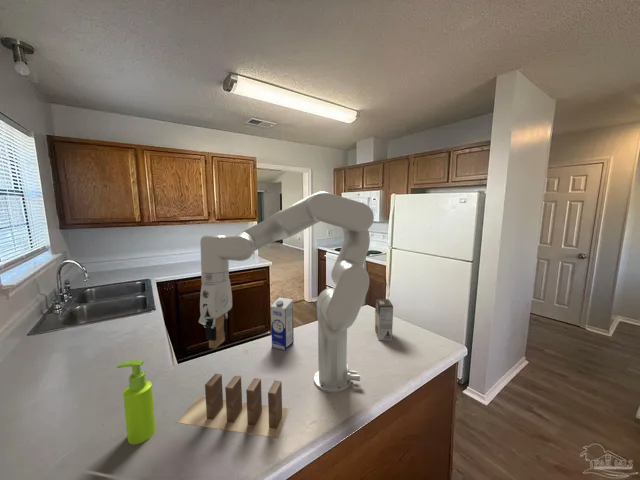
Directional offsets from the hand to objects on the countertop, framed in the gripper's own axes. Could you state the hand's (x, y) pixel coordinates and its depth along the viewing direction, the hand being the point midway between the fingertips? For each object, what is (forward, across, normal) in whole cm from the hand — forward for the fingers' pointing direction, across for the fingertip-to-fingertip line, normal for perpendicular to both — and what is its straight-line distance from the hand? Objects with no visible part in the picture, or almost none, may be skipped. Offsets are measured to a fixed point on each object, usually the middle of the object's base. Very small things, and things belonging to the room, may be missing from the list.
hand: (216, 334), depth 79 cm
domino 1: (+3, 0, 0) cm, 3 cm away
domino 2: (+20, -6, -3) cm, 21 cm away
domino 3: (+20, -6, -9) cm, 22 cm away
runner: (+20, -6, -9) cm, 23 cm away
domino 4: (+19, -6, -15) cm, 25 cm away
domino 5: (+19, -6, -21) cm, 29 cm away
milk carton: (+20, +34, -9) cm, 40 cm away
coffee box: (+19, +51, -52) cm, 75 cm away
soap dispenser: (+21, -17, +12) cm, 29 cm away
